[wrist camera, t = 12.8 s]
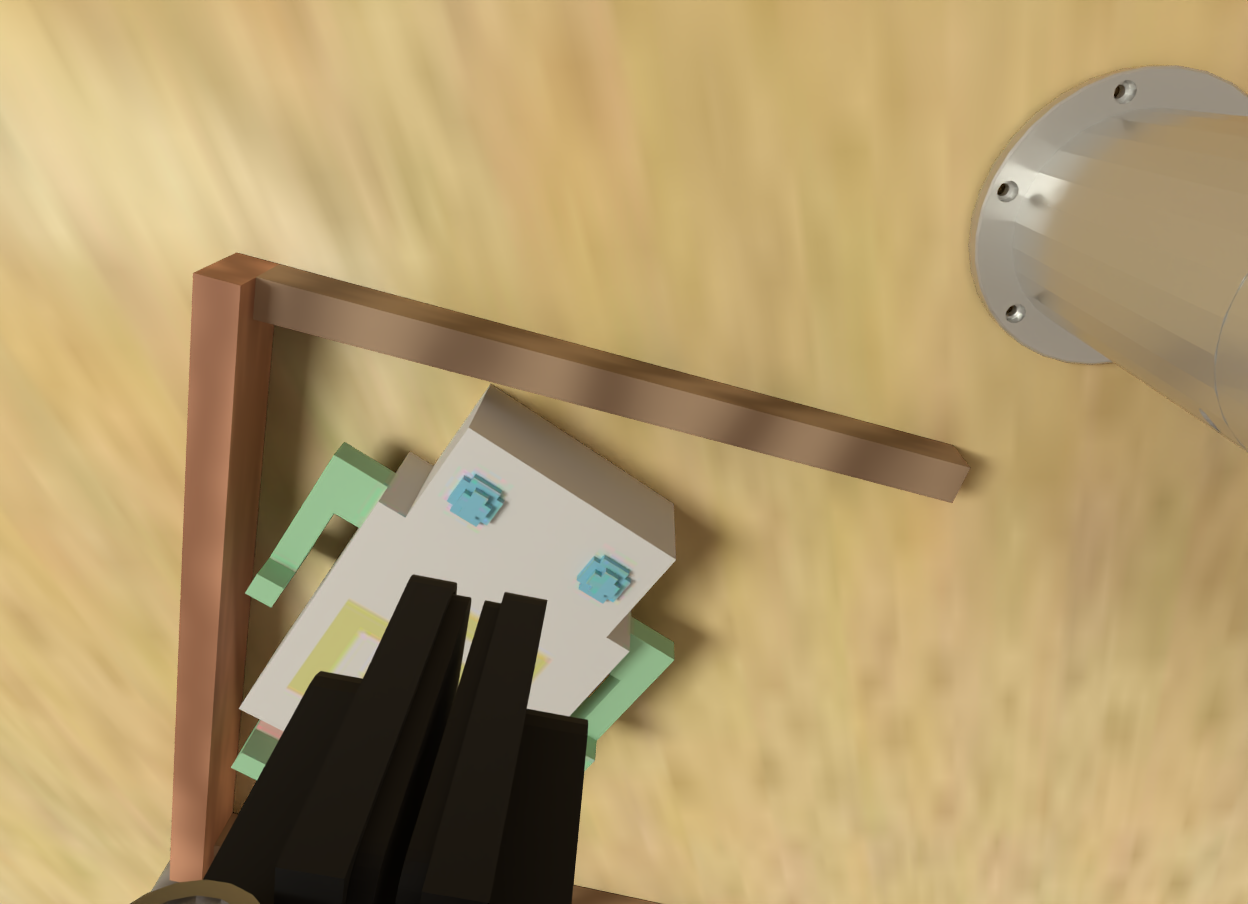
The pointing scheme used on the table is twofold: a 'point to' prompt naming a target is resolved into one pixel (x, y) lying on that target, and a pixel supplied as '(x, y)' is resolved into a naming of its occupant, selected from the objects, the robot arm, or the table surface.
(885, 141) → the table surface
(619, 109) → the table surface
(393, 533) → the decorative block
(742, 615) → the table surface
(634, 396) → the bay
